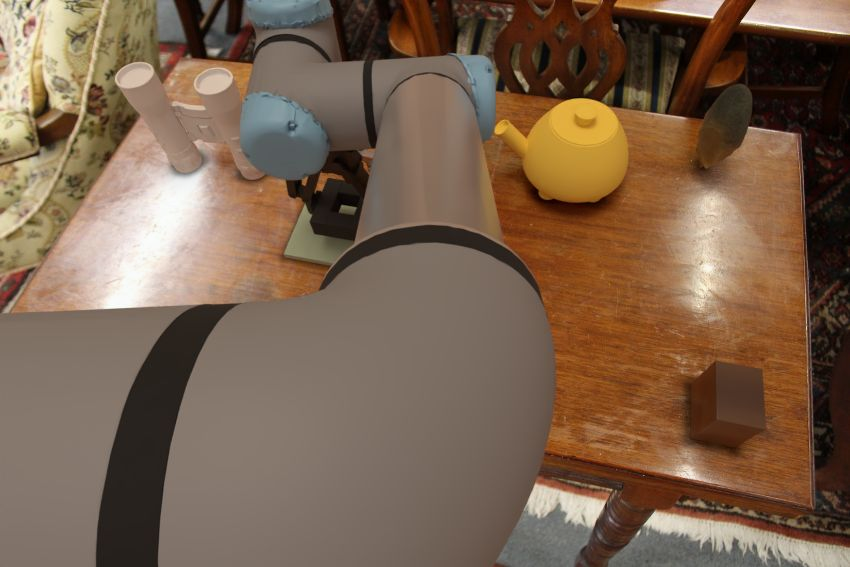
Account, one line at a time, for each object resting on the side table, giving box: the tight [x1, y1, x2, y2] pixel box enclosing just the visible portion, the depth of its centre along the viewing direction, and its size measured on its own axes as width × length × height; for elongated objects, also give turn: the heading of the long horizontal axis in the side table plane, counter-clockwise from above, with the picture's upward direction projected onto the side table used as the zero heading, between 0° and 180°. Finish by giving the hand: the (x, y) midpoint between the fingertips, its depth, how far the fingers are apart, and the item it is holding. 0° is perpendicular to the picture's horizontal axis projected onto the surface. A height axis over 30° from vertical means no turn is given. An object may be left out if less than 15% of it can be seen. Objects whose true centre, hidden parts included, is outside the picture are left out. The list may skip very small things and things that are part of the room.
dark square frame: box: [310, 177, 364, 241], centre depth 79 cm, size 8×8×3 cm
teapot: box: [494, 97, 630, 203], centre depth 82 cm, size 20×16×14 cm
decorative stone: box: [695, 83, 753, 170], centre depth 80 cm, size 10×6×15 cm, turn 162°
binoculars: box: [114, 61, 266, 181], centre depth 85 cm, size 17×5×18 cm, turn 81°
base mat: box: [283, 191, 357, 267], centre depth 83 cm, size 12×18×4 cm, turn 77°
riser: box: [689, 360, 767, 448], centre depth 64 cm, size 7×5×8 cm
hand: (352, 229), depth 83 cm, fingers closed on dark square frame, 8 cm apart
